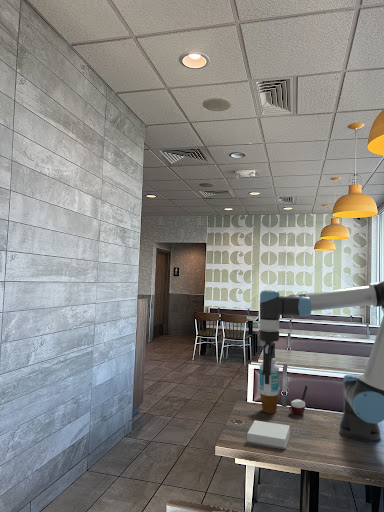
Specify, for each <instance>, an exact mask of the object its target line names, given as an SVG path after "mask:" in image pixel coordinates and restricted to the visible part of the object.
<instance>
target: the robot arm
mask: <svg viewBox="0 0 384 512" xmlns="http://www.w3.org/2000/svg"><path fill="white" fill-rule="evenodd" d="M362 306H363V307H364V306H372V307H373V308H374V307H375V308H376V307H381V311H382V313H383V316H382V318H381V322H380V324H379V327H378V331H377V333H376V336H375V340H374V342H373V345H372V347H371V348H372V349H371V351H370V354H369V357H368V360H367V363H366V367H365V370H364V371H363V374H345V375H344V376H343V381H342V383H343V413H342V416H341V420H340V421H339V426H338V427H339V429H338V431H339V433H340V434H341V435H342V436H344V437H347V438H349V439H352V440H356V441H360V442H376V441H379V440H380V439H381V430H380V426H379V423H382V422H384V280H381V281H378V282H372V283H368V285H367V286H366V285H365V286H358V287H357V286H356V287H349V288H342V289H341V288H340V289H332V290H326V291H317V292H308V293H307V292H306V293H301V294H290V295H288V296H285V295H284V296H283V295H280V292H279V291H278V290H262V291H261V292H260V294H259V320H258V324H259V329H260V331H259V340H261V341H263V342H264V345H263V348H262V350H263V354H262V355H263V358H262V364H263V373H262V375H264V392H267V393H271V359H272V358H275V359H276V343H275V342H278V341H279V340H280V331H279V330H280V316H291V317H309V316H311V314H312V312H316V311H324V310H325V311H327V310H333V309H334V310H335V309H344V308H353V307H354V308H355V307H362Z"/></svg>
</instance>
